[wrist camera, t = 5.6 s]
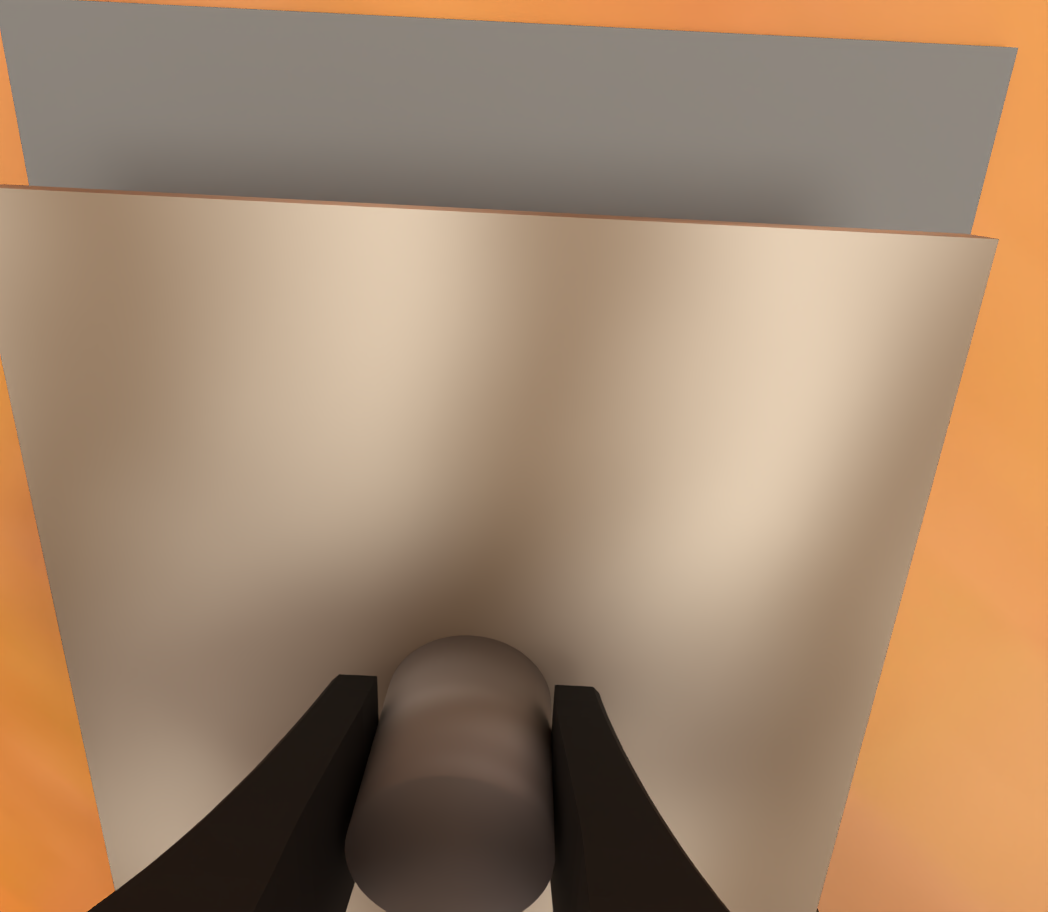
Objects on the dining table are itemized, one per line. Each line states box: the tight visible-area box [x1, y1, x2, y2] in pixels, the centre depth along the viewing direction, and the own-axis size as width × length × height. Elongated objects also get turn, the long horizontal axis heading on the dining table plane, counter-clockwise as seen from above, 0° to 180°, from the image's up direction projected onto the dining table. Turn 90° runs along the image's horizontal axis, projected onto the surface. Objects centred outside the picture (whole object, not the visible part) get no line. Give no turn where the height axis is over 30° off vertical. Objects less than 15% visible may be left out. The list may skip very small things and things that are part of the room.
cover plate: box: [0, 184, 999, 912], centre depth 12 cm, size 14×16×4 cm
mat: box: [0, 0, 1018, 234], centre depth 16 cm, size 18×17×1 cm
